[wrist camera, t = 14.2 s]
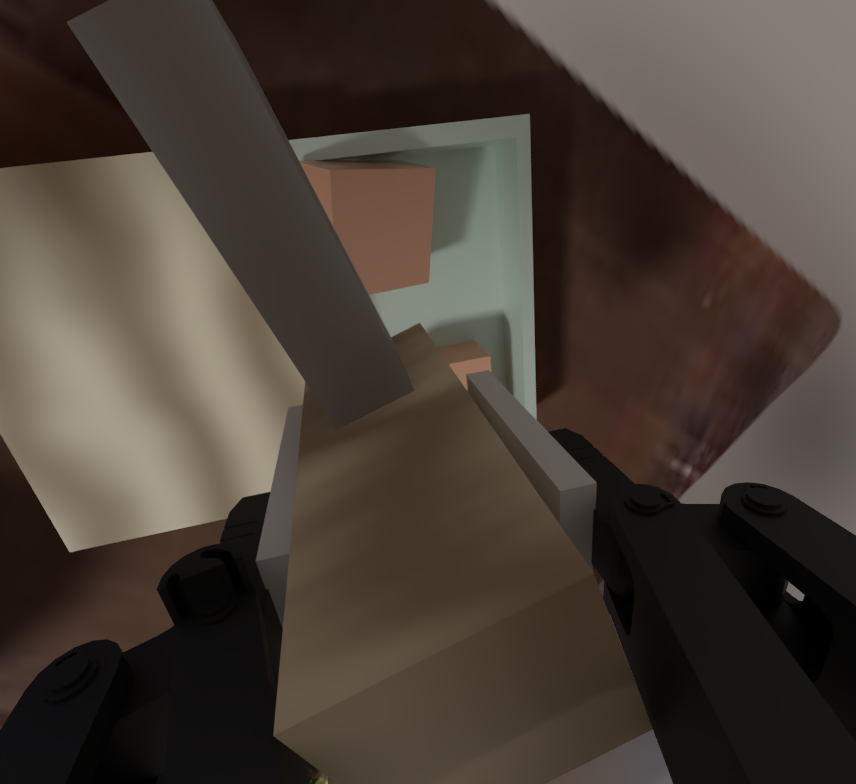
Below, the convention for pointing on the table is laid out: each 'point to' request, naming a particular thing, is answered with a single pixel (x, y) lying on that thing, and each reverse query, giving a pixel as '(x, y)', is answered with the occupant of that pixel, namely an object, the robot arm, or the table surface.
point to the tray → (464, 237)
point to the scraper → (377, 470)
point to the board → (130, 354)
